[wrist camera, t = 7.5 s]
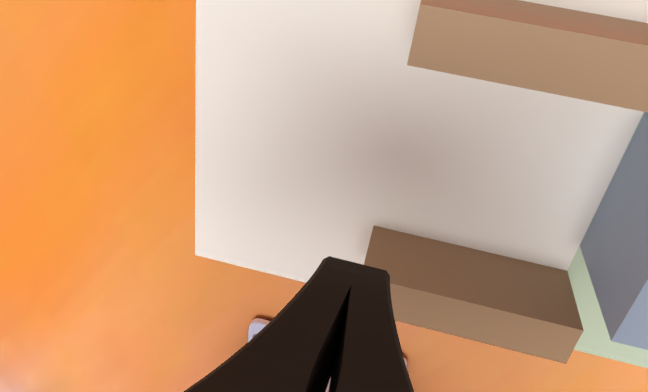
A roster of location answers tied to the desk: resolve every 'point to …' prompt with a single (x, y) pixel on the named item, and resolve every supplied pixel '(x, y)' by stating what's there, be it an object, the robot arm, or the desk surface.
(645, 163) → the block
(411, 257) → the deck
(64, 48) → the desk surface
